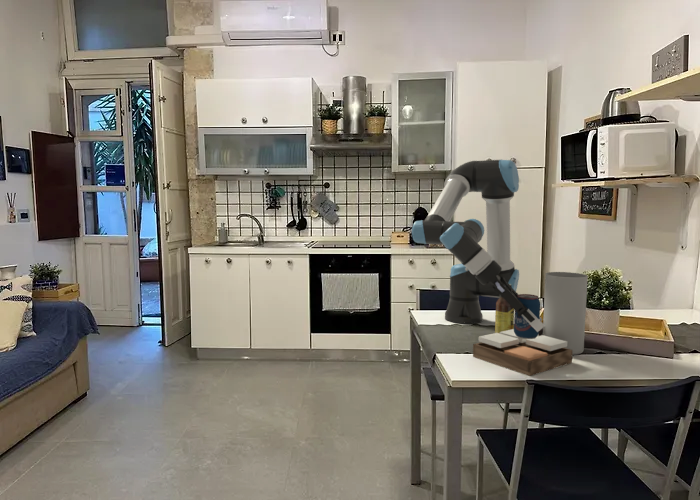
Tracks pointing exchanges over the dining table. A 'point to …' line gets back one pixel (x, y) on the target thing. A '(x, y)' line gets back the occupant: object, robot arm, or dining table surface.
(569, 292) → the cylinder vase
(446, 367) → the dining table surface
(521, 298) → the soda can
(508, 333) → the key
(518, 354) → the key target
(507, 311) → the sauce bottle
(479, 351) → the keypad
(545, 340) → the key
